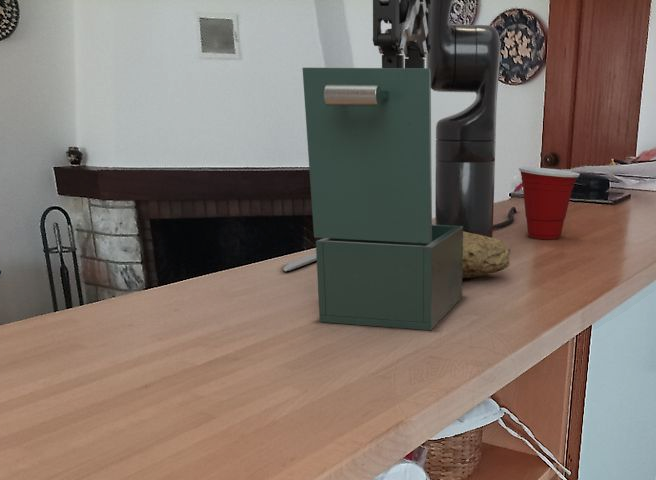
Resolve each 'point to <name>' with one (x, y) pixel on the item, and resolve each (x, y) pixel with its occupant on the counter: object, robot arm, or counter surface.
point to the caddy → (390, 280)
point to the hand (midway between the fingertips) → (404, 93)
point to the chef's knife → (301, 262)
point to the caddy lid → (370, 153)
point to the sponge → (483, 255)
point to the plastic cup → (546, 200)
